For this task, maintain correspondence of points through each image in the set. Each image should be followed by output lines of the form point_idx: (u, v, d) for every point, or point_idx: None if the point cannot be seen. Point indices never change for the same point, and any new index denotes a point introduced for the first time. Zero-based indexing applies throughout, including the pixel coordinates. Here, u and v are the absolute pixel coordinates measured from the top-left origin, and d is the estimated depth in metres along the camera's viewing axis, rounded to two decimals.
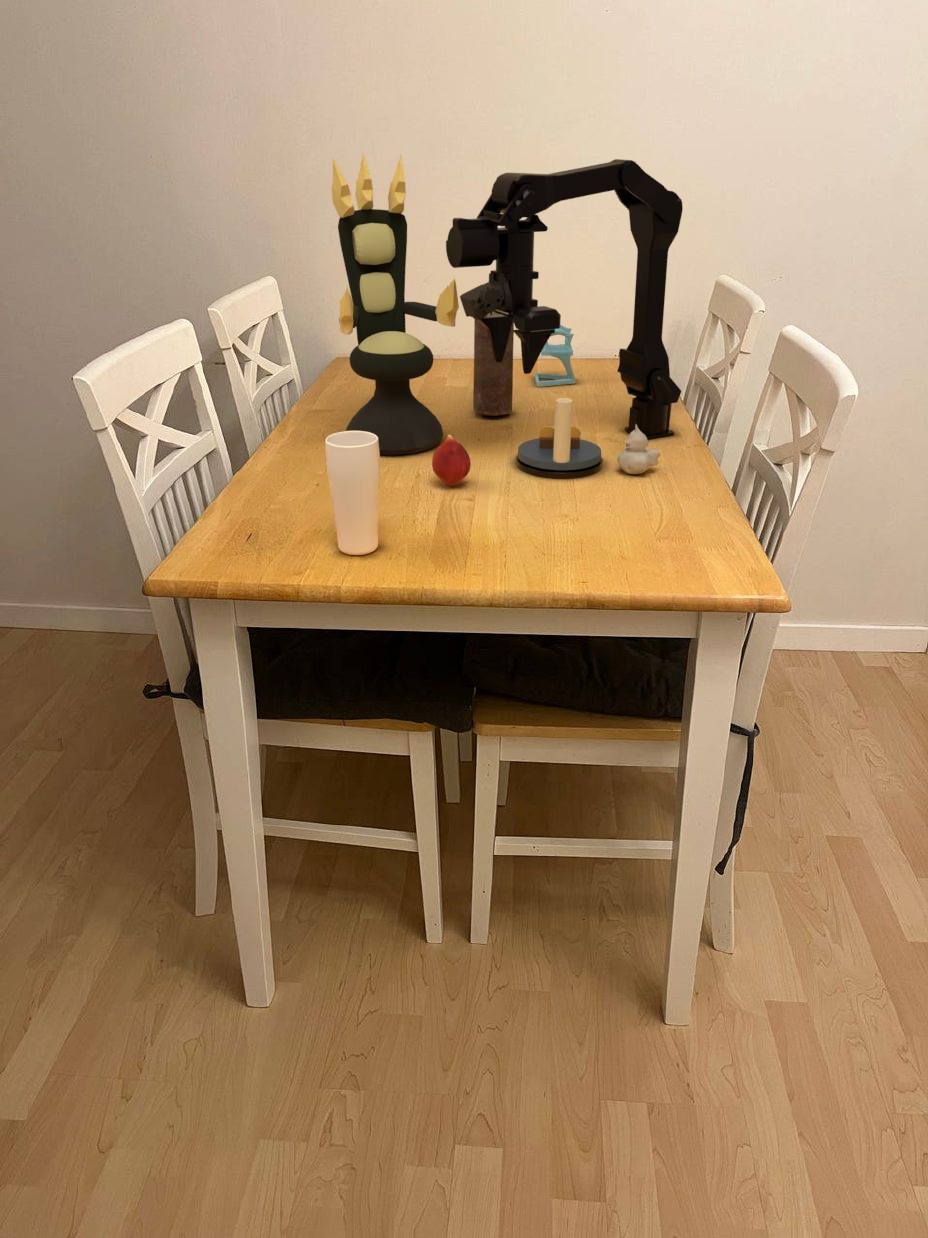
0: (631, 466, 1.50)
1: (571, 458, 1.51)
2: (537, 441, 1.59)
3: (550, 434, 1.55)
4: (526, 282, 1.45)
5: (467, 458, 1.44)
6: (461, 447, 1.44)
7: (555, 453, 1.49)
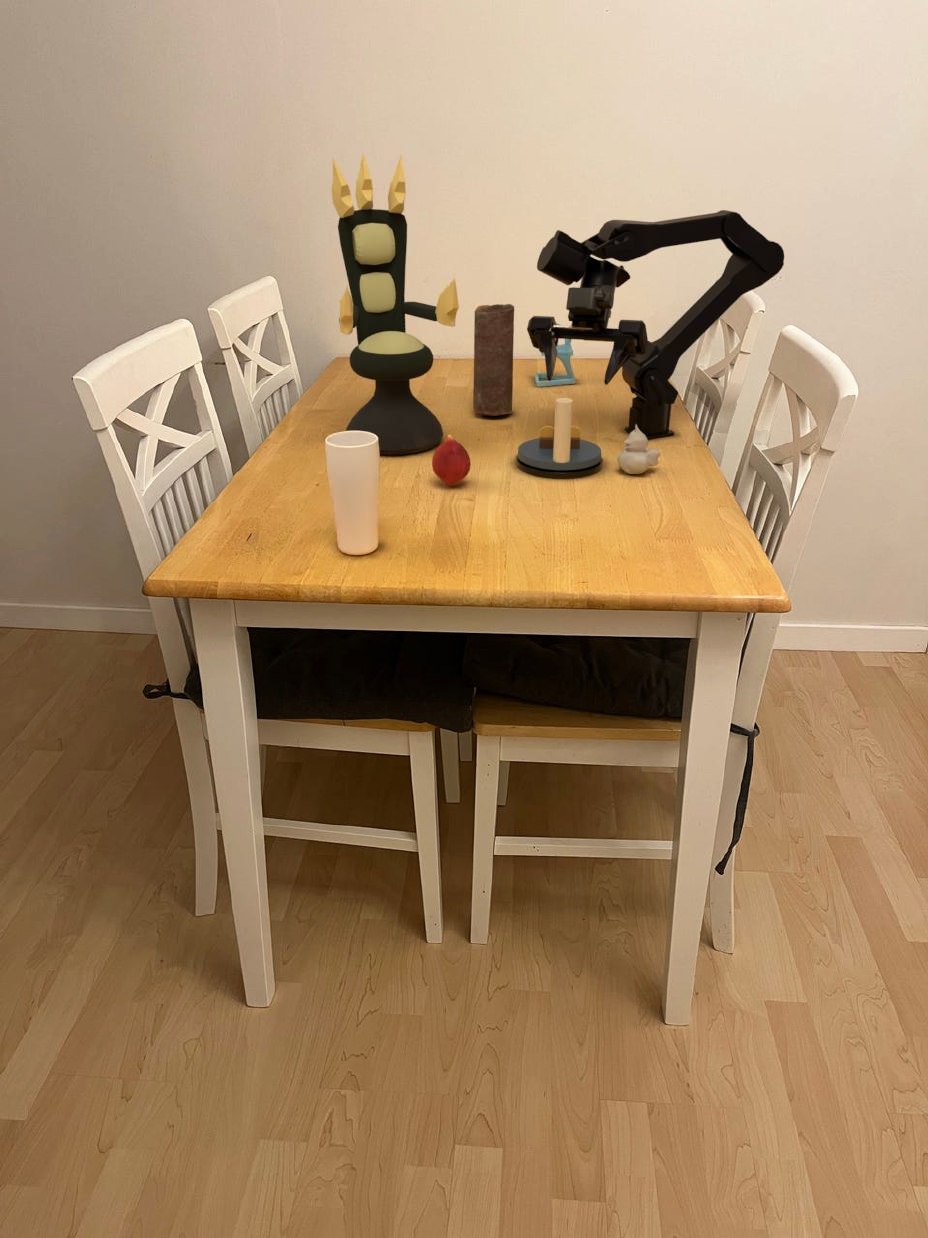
0: (631, 466, 1.50)
1: (571, 458, 1.51)
2: (537, 441, 1.59)
3: (550, 434, 1.55)
4: (610, 311, 1.55)
5: (467, 458, 1.44)
6: (461, 447, 1.44)
7: (555, 453, 1.49)
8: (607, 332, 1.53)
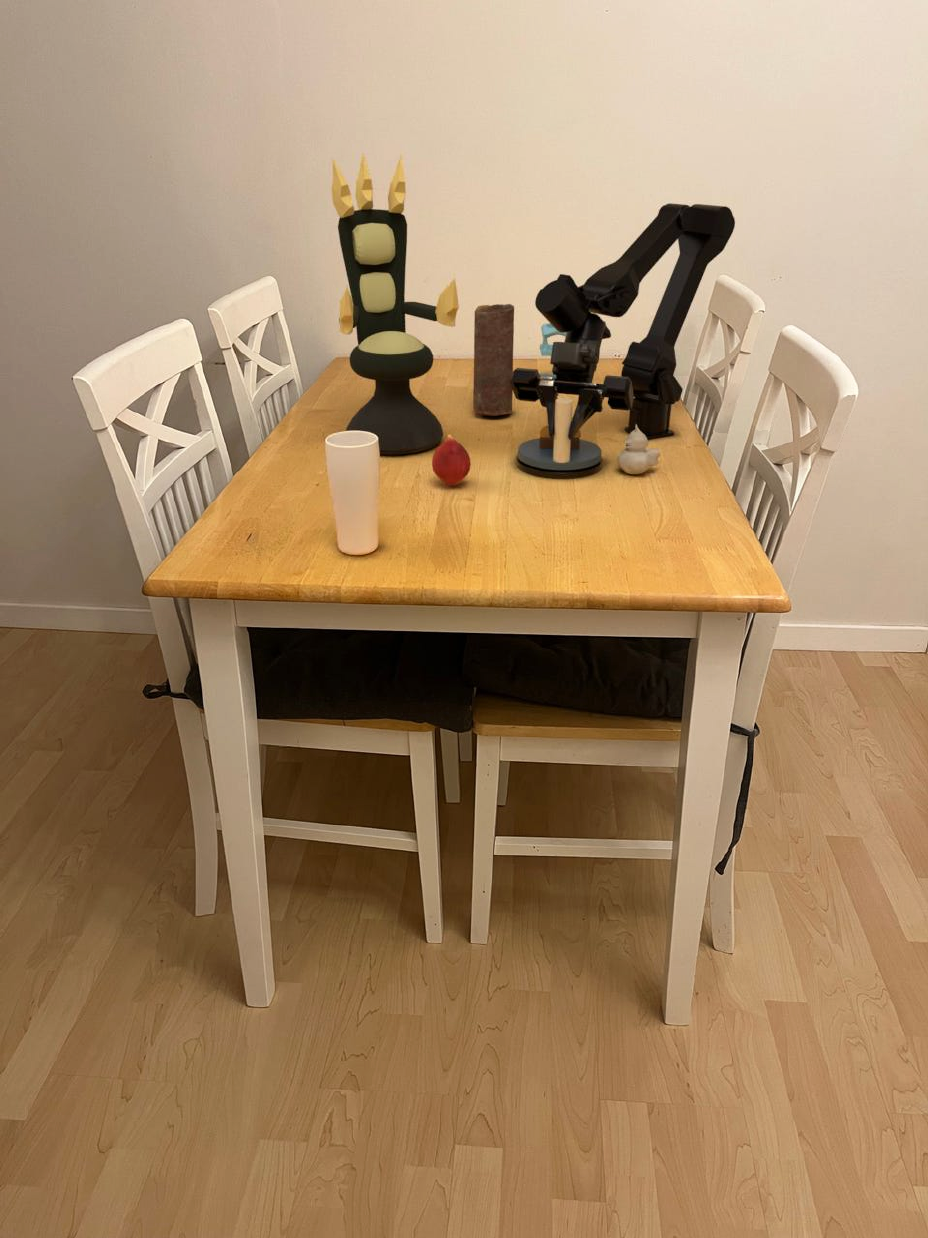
0: (631, 466, 1.50)
1: (571, 458, 1.51)
2: (537, 441, 1.59)
3: None
4: (596, 365, 1.50)
5: (467, 458, 1.44)
6: (461, 447, 1.44)
7: (555, 453, 1.49)
8: (592, 387, 1.48)
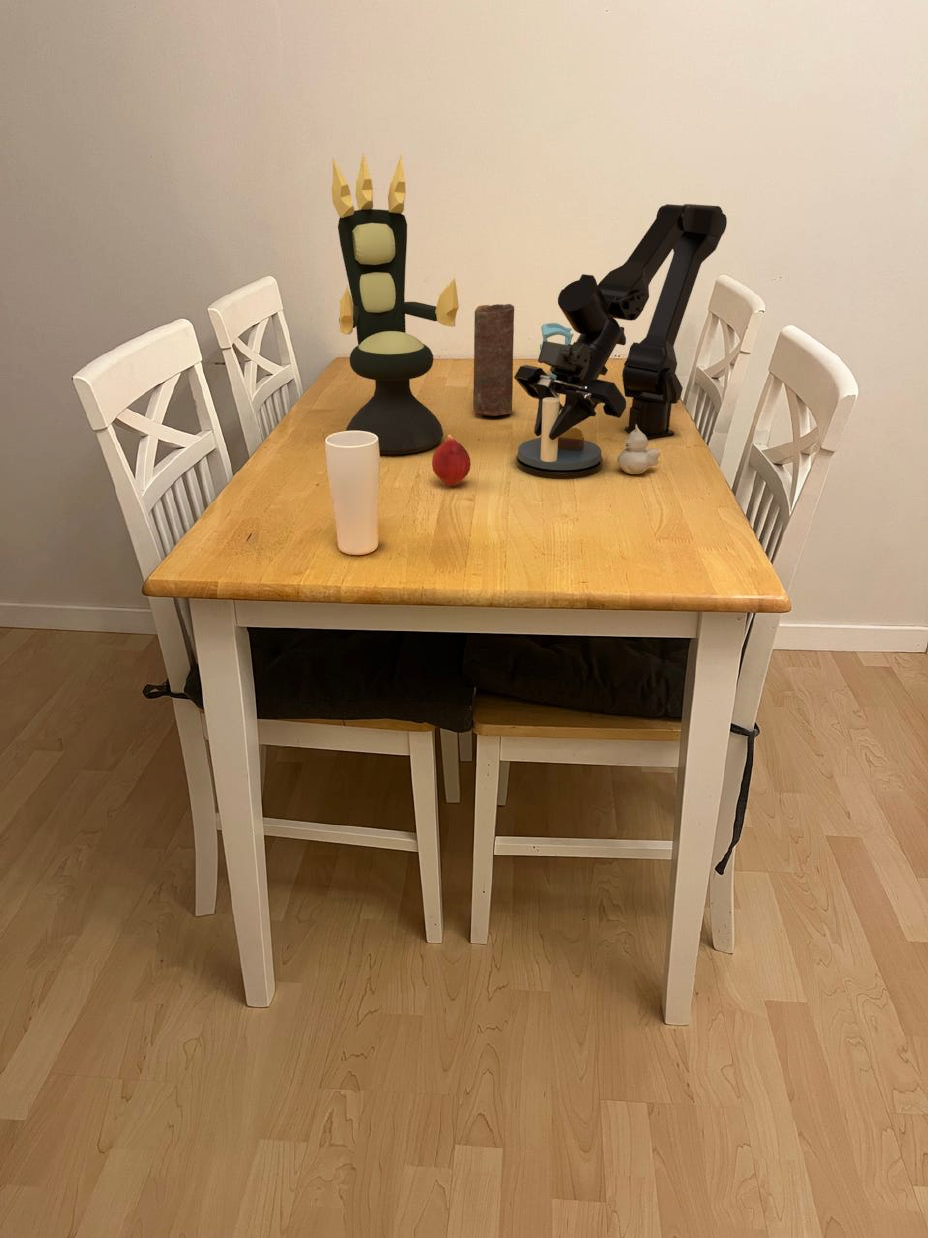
0: (631, 466, 1.50)
1: (560, 458, 1.51)
2: None
3: None
4: (600, 369, 1.48)
5: (467, 458, 1.44)
6: (461, 447, 1.44)
7: (541, 451, 1.50)
8: (585, 390, 1.46)
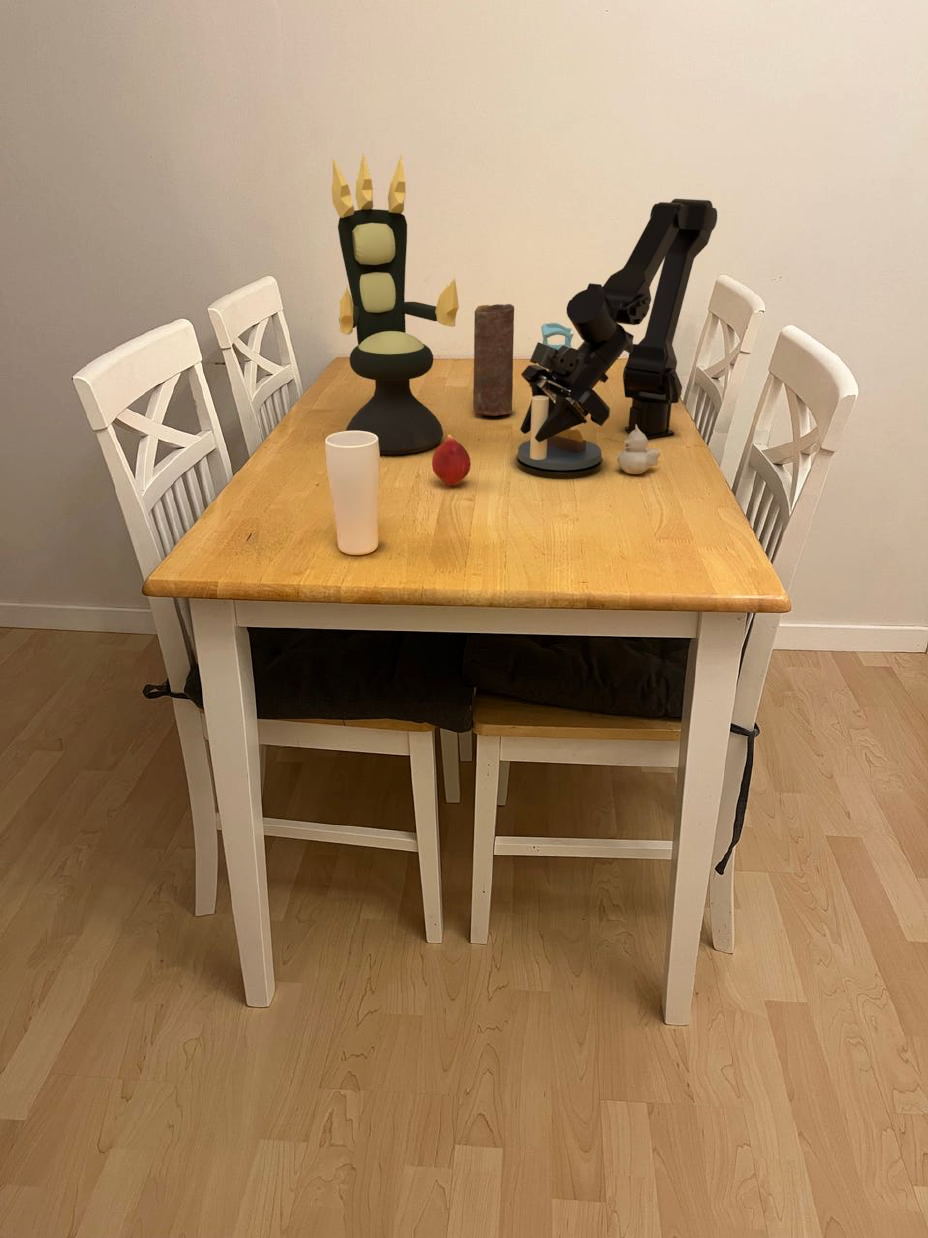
0: (631, 466, 1.50)
1: (550, 458, 1.51)
2: None
3: None
4: (596, 375, 1.47)
5: (467, 458, 1.44)
6: (461, 447, 1.44)
7: (530, 448, 1.51)
8: None
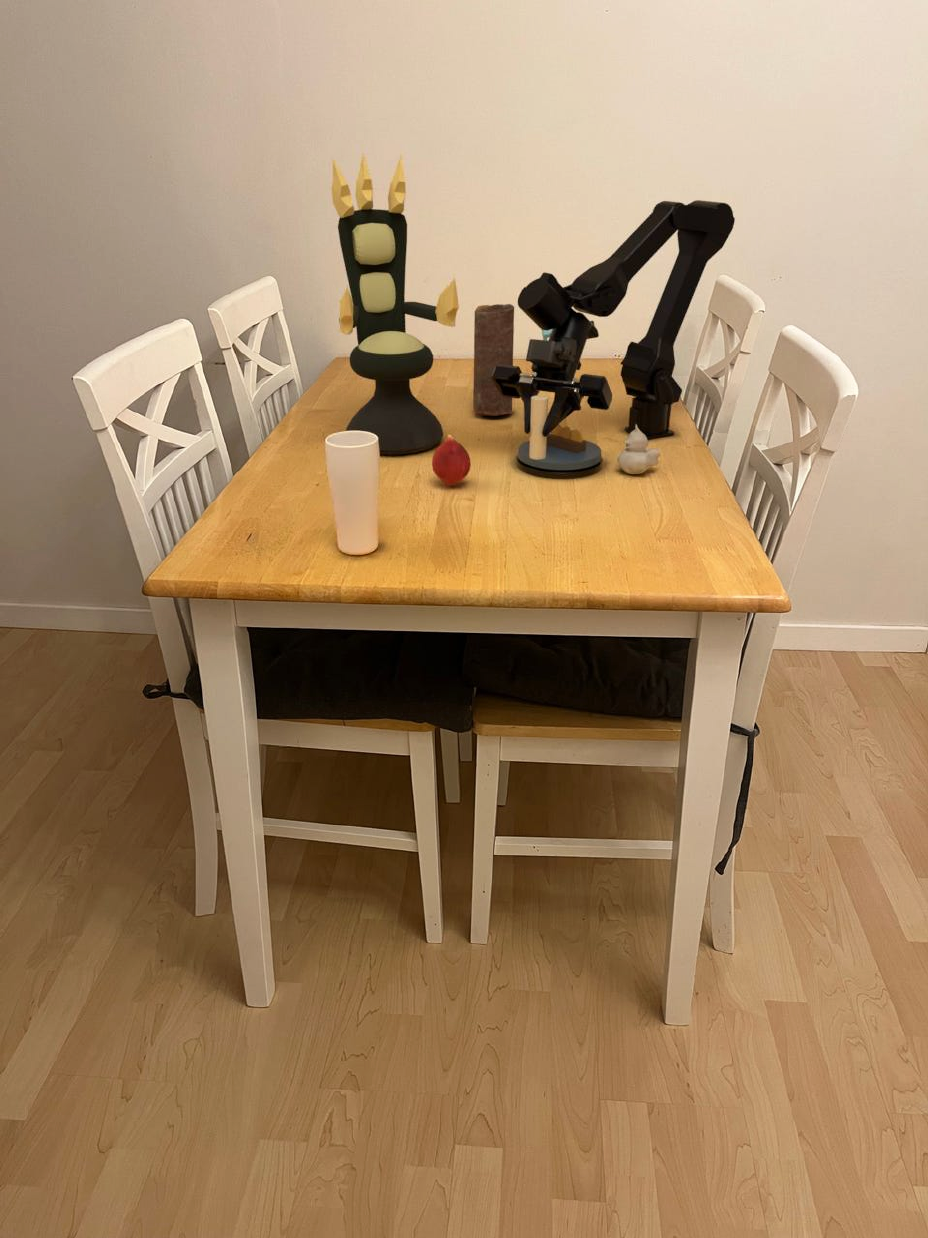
0: (631, 466, 1.50)
1: (549, 458, 1.51)
2: None
3: (558, 433, 1.56)
4: (577, 364, 1.51)
5: (467, 458, 1.44)
6: (461, 447, 1.44)
7: (529, 448, 1.51)
8: (570, 385, 1.49)
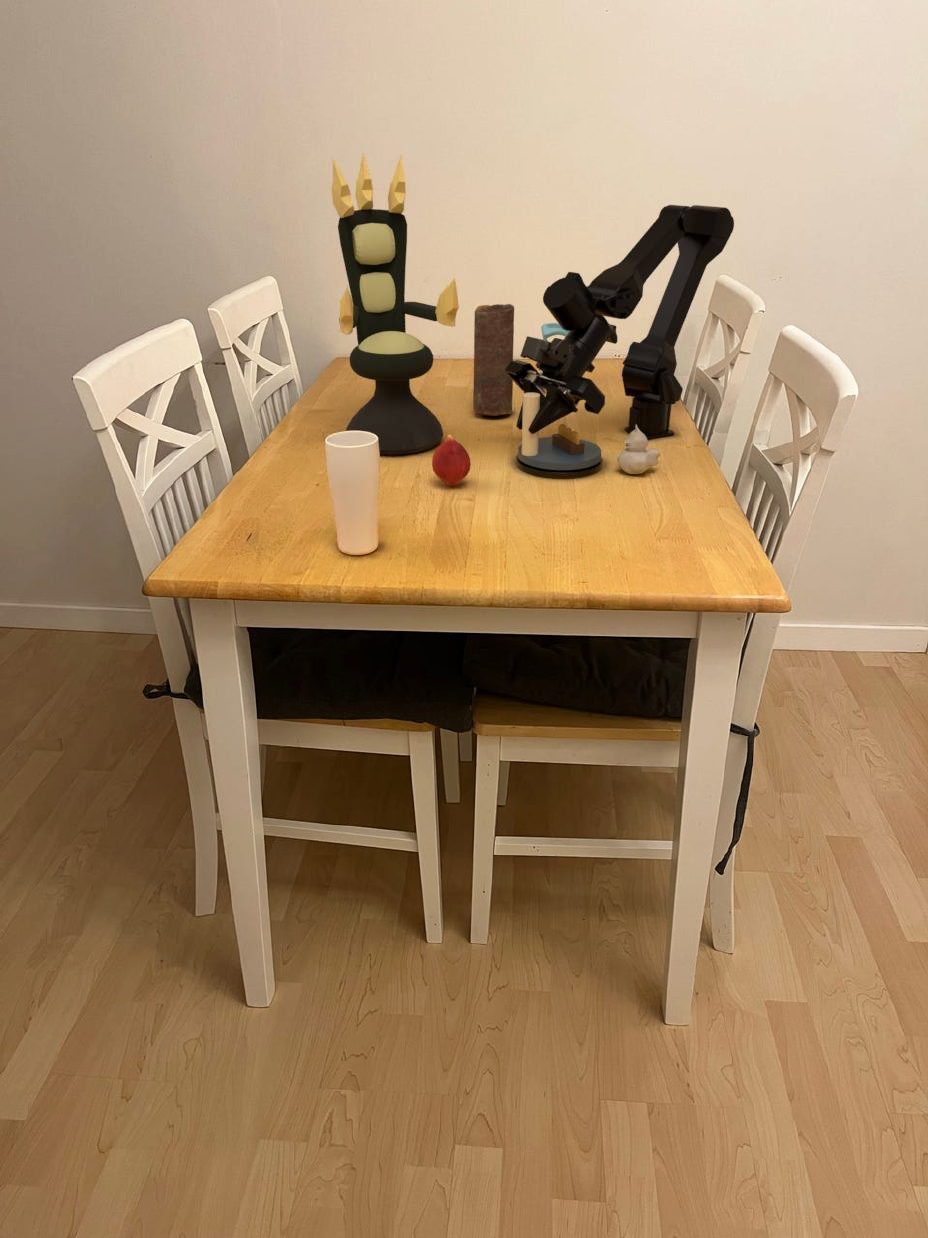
0: (631, 466, 1.50)
1: (539, 455, 1.52)
2: None
3: (562, 433, 1.56)
4: (584, 365, 1.50)
5: (467, 458, 1.44)
6: (461, 447, 1.44)
7: None
8: None
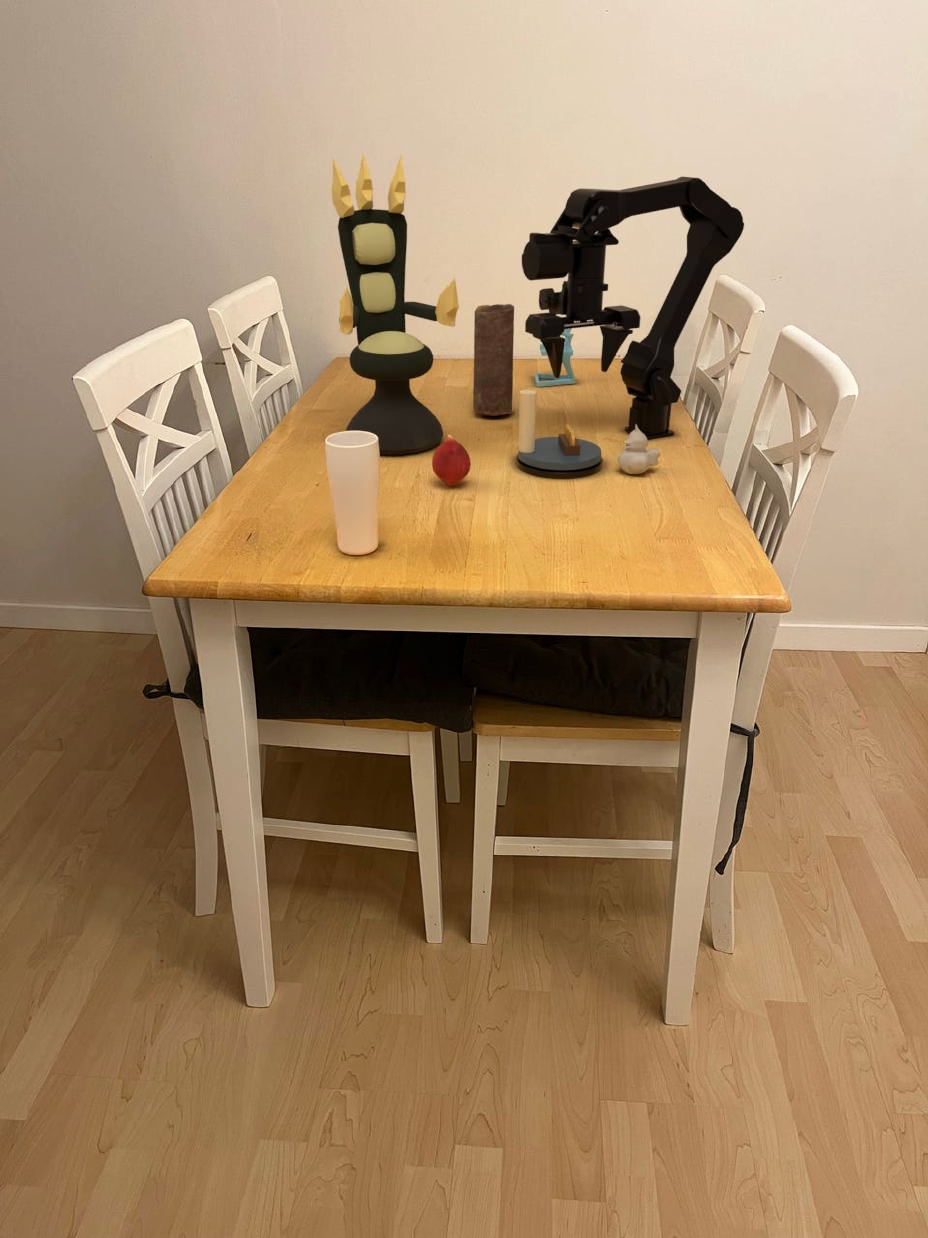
0: (631, 466, 1.50)
1: (533, 453, 1.53)
2: (579, 442, 1.58)
3: (566, 433, 1.55)
4: (572, 293, 1.52)
5: (467, 458, 1.44)
6: (461, 447, 1.44)
7: None
8: None
